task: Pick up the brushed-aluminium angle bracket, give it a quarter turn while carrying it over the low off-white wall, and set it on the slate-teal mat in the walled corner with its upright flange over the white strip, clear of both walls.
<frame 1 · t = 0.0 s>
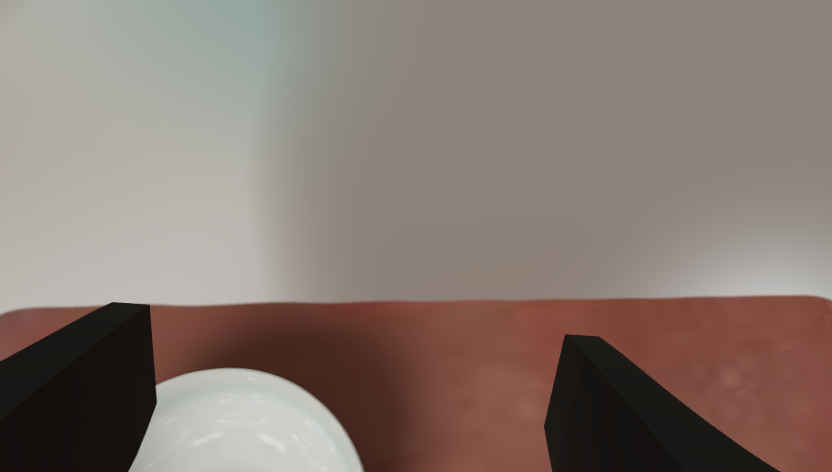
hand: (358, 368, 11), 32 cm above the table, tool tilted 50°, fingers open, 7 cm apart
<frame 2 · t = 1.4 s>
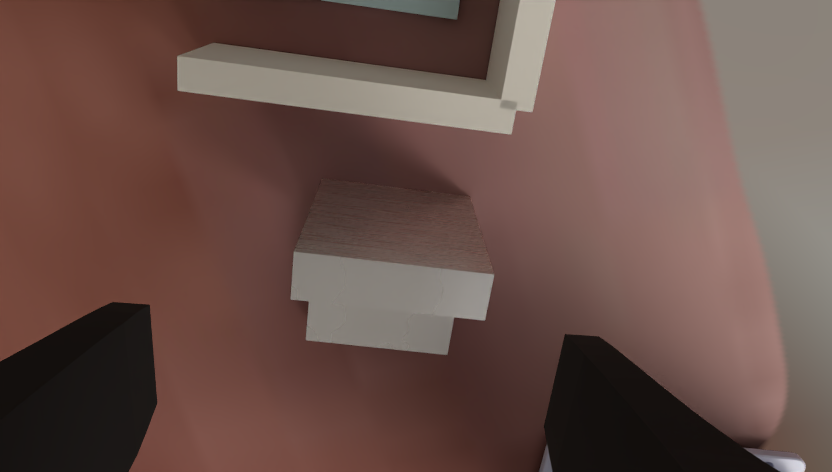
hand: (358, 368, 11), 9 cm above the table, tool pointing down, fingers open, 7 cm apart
bracket: (387, 260, 20), on the table
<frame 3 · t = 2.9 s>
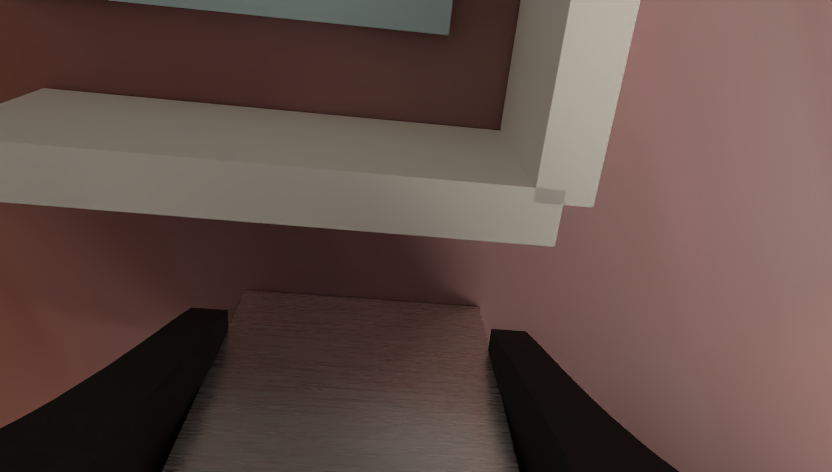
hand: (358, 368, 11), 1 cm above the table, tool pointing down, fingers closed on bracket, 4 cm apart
bracket: (355, 403, 13), on the table, touching gripper
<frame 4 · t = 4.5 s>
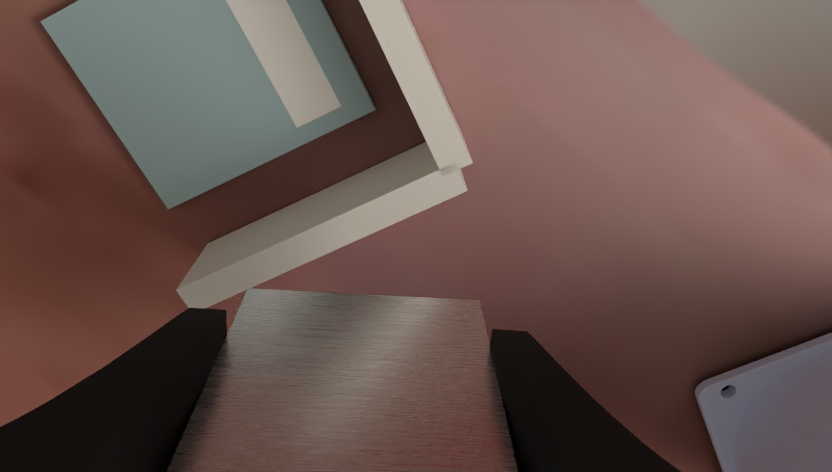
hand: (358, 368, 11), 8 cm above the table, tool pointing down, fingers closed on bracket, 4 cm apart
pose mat: (216, 65, 17), on the table
arena: (264, 84, 17), on the table
bracket: (360, 396, 13), point 7 cm above the table, touching gripper
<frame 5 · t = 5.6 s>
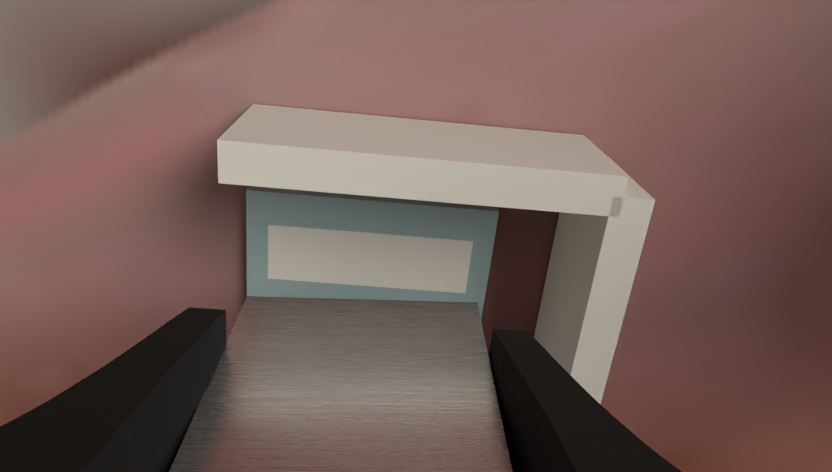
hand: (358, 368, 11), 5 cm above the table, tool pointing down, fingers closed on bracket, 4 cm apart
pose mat: (364, 321, 16), on the table
arena: (407, 293, 16), on the table
bracket: (361, 400, 13), point 3 cm above the table, touching gripper
when the fingers open (3 cm above the table, at t = 6.4 s): bracket drops 1 cm, resting on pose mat.
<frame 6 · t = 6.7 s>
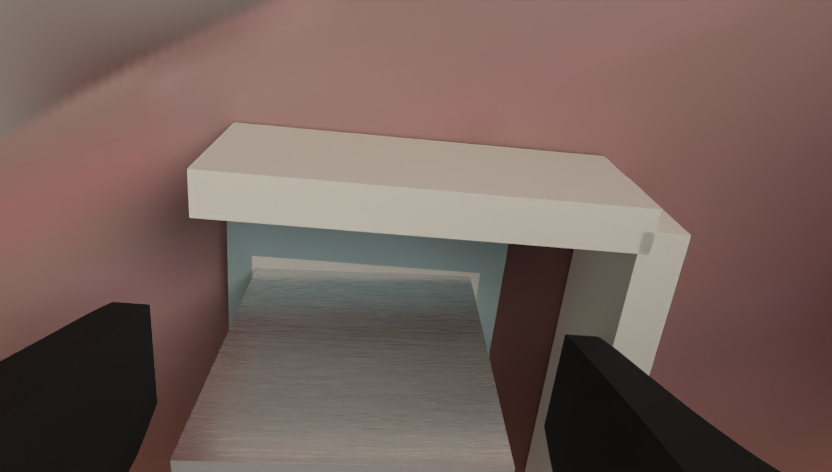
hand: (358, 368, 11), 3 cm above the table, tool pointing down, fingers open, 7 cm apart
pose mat: (360, 359, 14), on the table
arena: (406, 329, 14), on the table
bracket: (361, 370, 14), resting on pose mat
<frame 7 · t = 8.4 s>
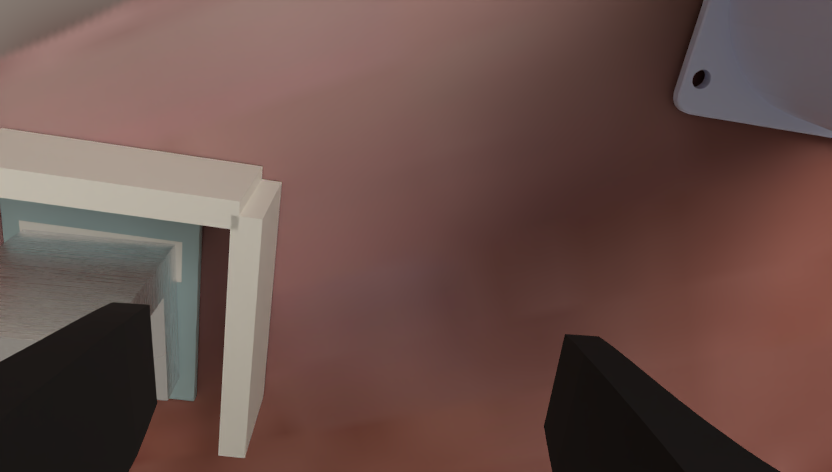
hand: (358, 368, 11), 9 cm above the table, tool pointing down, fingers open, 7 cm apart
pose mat: (108, 300, 20), on the table
arena: (139, 280, 20), on the table
bracket: (105, 307, 20), resting on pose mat
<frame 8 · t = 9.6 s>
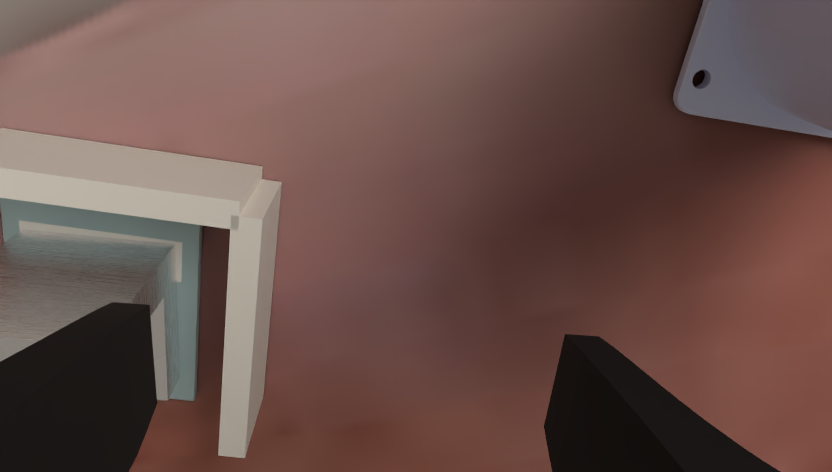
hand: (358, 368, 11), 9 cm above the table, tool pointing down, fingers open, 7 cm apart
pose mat: (108, 300, 20), on the table
arena: (139, 280, 20), on the table
bracket: (105, 307, 20), resting on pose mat
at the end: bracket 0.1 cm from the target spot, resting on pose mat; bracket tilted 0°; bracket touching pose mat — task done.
